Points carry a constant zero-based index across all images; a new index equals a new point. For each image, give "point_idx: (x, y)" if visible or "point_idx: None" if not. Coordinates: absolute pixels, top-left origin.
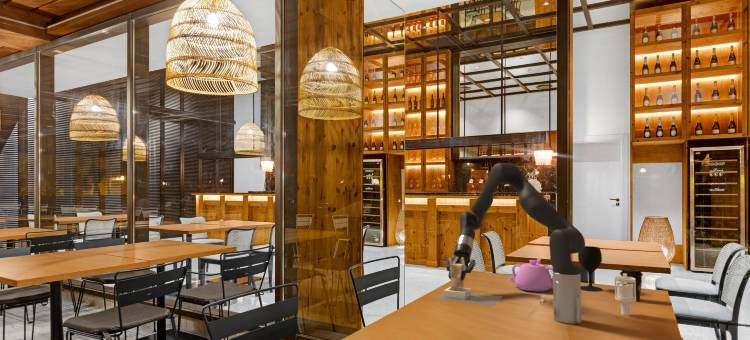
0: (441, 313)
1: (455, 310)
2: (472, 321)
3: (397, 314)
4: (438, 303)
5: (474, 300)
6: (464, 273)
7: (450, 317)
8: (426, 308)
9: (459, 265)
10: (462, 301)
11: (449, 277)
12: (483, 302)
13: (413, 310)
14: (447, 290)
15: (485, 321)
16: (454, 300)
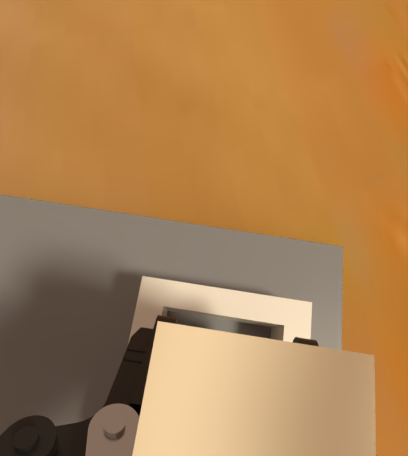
0: (236, 72)
1: (184, 133)
2: (95, 9)
3: (401, 16)
4: None
5: (84, 289)
6: (117, 381)
7: (187, 32)
8: (327, 126)
9: (180, 333)
10: (159, 237)
11: (308, 340)
12: (26, 253)
13: (368, 81)
14: (284, 308)
15: (43, 20)
16: (211, 246)
